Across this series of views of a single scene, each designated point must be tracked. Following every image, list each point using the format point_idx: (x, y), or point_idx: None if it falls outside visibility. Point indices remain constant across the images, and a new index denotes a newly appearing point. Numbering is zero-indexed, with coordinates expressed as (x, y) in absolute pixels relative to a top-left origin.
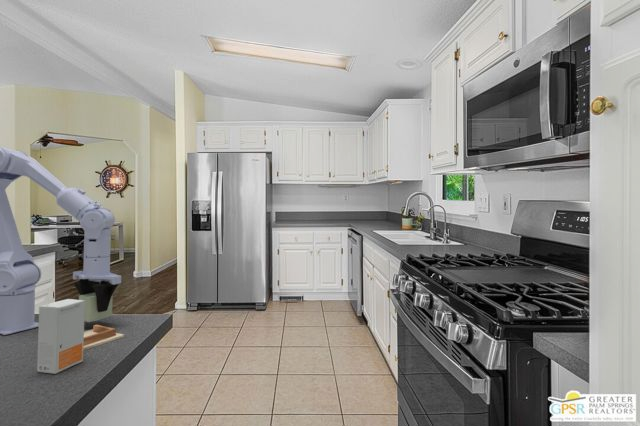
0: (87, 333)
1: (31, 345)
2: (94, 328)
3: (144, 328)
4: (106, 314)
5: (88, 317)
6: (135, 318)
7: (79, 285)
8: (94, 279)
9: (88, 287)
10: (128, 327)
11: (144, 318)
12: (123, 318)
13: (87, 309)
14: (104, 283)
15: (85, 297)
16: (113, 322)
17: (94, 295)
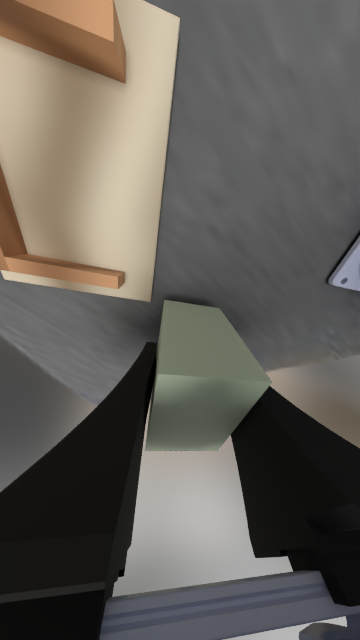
0: (125, 251)
1: (238, 41)
2: (114, 273)
3: (49, 346)
4: (156, 355)
5: (168, 307)
6: None
7: (349, 491)
8: (243, 632)
9: (268, 468)
10: (94, 340)
11: None
12: None
13: (176, 324)
14: (21, 606)
15: (203, 372)
16: None
17: (178, 407)
